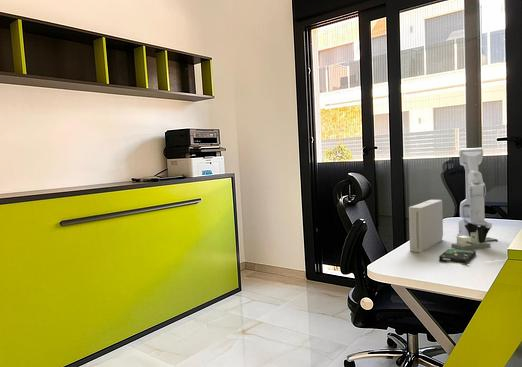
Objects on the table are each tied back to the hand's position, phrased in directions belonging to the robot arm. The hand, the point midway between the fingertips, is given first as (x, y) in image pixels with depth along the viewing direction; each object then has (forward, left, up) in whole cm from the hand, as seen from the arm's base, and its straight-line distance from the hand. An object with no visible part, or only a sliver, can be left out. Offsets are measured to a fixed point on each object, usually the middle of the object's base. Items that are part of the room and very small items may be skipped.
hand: (477, 241), depth 178 cm
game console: (-12, -18, -3) cm, 21 cm away
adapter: (+2, -7, -2) cm, 8 cm away
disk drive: (+12, -20, -3) cm, 23 cm away
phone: (-7, +9, -3) cm, 12 cm away
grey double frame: (0, -4, -3) cm, 4 cm away
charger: (0, 0, -2) cm, 2 cm away
